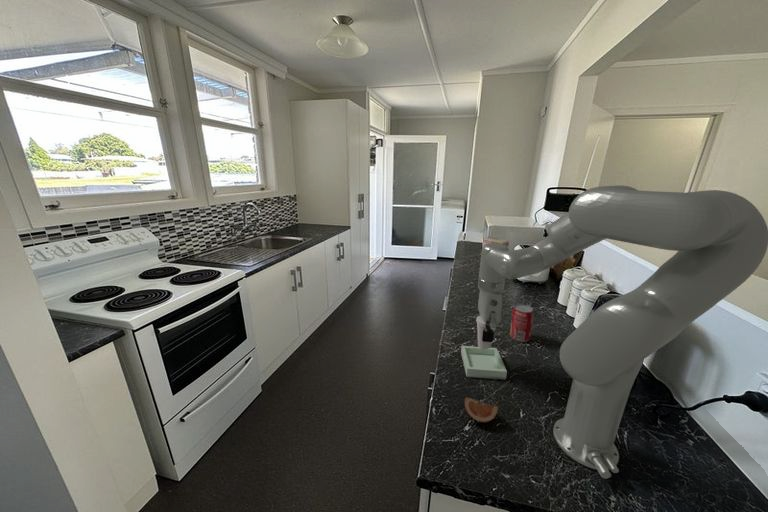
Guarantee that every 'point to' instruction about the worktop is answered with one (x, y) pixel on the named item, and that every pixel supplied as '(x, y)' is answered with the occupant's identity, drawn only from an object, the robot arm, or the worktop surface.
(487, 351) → the tray
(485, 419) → the fruit slice
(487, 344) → the smoothie
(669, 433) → the worktop surface
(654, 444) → the worktop surface
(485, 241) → the coffeecake box
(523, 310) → the soda can
